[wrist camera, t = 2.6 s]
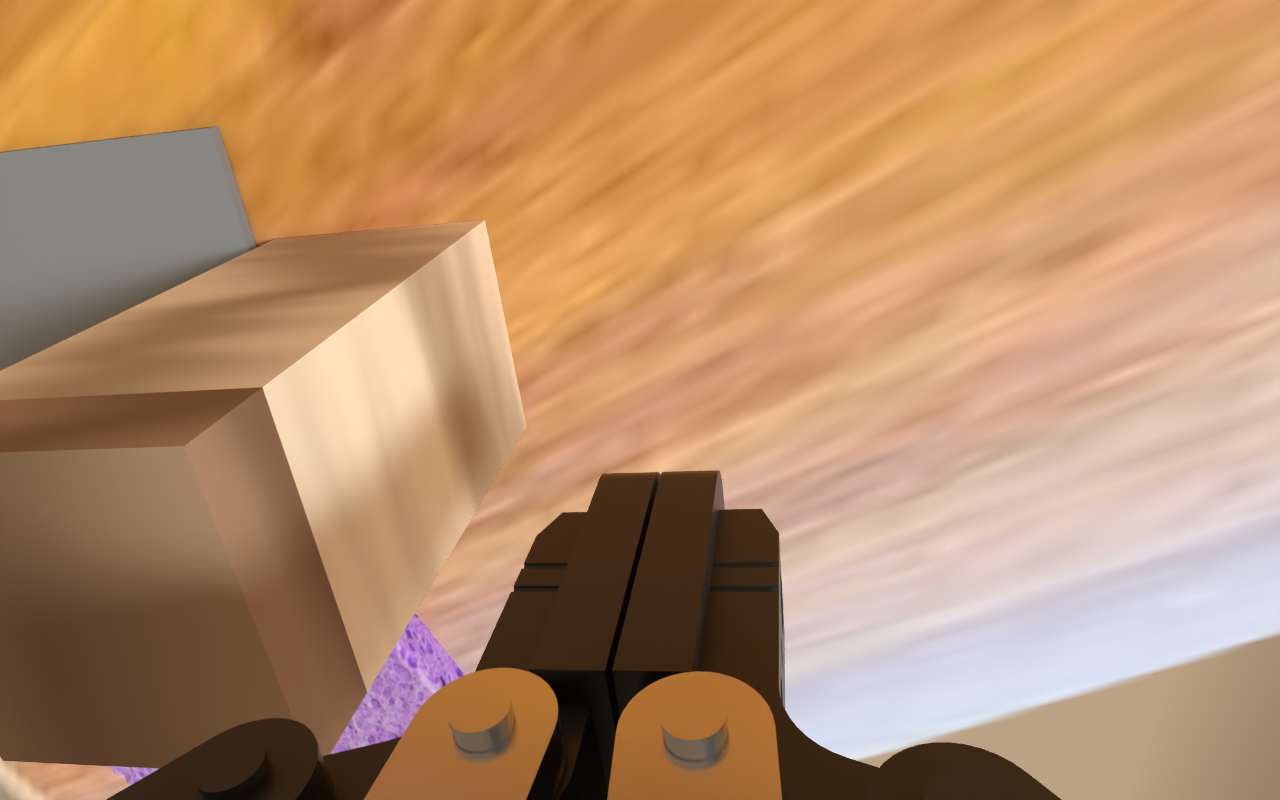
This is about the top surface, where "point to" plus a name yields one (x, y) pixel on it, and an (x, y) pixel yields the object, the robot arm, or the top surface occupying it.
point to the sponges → (384, 693)
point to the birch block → (244, 491)
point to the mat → (109, 230)
